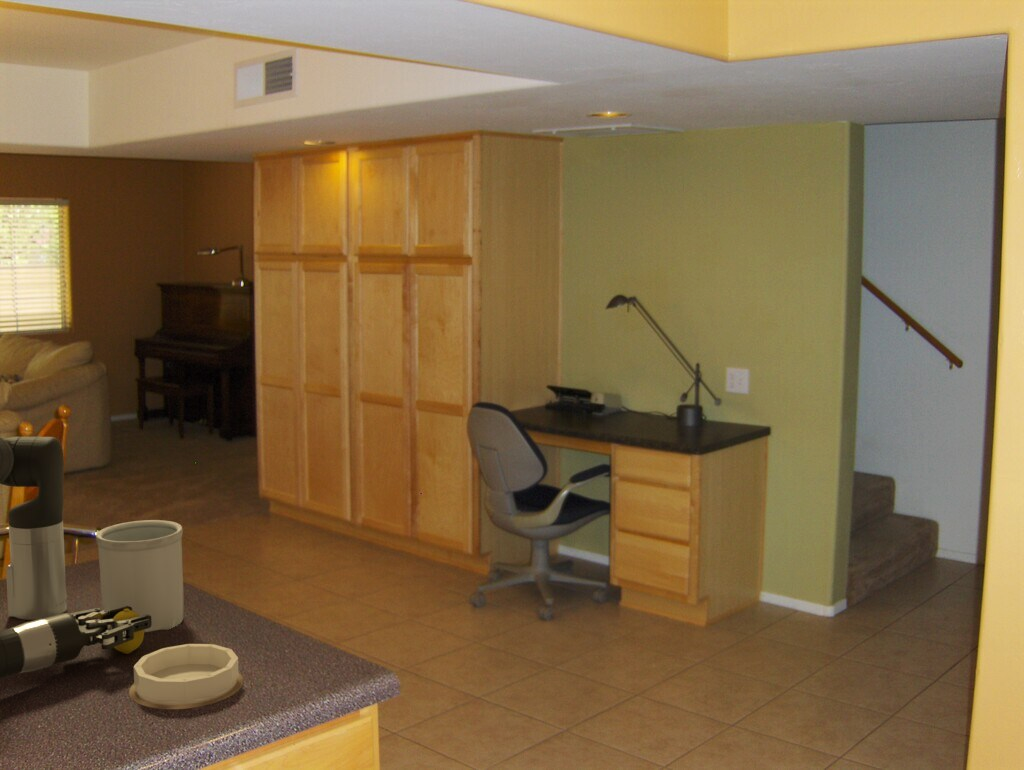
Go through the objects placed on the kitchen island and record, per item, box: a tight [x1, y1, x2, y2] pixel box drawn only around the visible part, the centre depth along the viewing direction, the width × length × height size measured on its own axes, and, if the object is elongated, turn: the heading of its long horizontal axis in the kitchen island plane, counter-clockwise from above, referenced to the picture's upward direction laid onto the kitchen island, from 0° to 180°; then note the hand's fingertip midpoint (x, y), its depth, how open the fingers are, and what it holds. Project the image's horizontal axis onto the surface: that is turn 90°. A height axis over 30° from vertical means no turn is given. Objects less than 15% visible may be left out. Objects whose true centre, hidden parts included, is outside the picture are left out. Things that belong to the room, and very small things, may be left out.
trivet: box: [128, 671, 244, 710], centre depth 167 cm, size 17×17×1 cm
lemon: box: [108, 609, 145, 655], centre depth 179 cm, size 6×6×8 cm
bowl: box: [133, 643, 240, 706], centre depth 166 cm, size 15×15×4 cm
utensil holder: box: [95, 519, 184, 633], centre depth 194 cm, size 15×15×18 cm
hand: (140, 616), depth 181 cm, fingers closed on lemon, 5 cm apart
